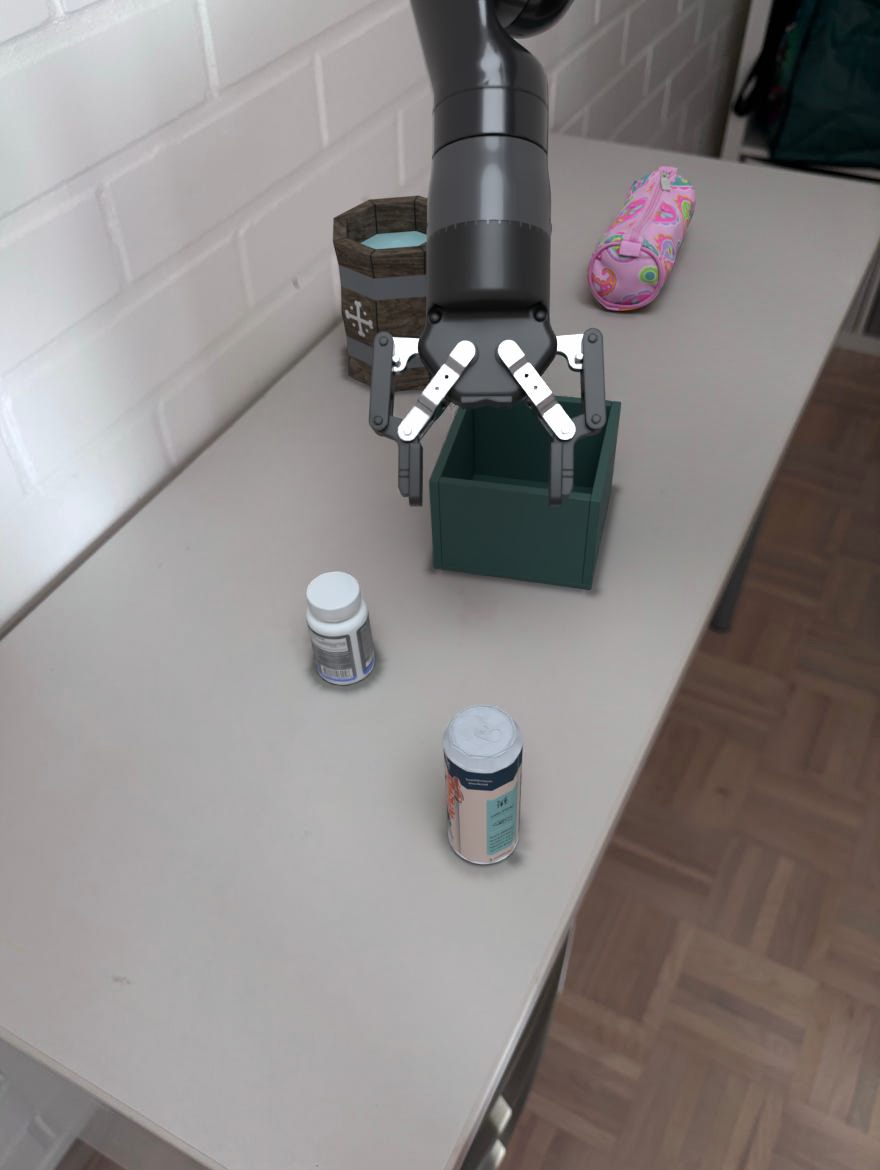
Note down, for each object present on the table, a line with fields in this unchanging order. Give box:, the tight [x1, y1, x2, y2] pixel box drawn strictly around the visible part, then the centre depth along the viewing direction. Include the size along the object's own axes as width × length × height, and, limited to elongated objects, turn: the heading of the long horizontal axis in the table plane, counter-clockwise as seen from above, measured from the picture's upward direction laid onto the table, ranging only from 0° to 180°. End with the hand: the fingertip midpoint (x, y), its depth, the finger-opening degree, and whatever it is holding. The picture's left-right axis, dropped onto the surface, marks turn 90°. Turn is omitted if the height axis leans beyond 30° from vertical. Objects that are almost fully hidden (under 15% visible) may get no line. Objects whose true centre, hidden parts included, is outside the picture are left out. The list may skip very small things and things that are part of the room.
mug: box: [332, 195, 433, 392], centre depth 102 cm, size 20×14×15 cm
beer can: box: [442, 703, 524, 865], centre depth 62 cm, size 5×5×12 cm
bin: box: [428, 394, 622, 591], centre depth 84 cm, size 14×14×10 cm
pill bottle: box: [305, 570, 376, 686], centre depth 75 cm, size 5×5×8 cm
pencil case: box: [586, 165, 697, 312], centre depth 114 cm, size 21×9×9 cm, turn 157°
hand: (485, 506), depth 60 cm, fingers open, 8 cm apart
